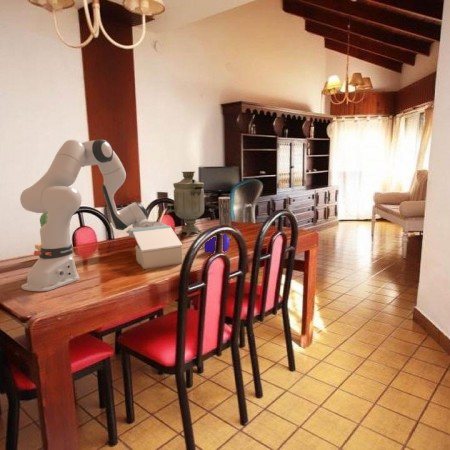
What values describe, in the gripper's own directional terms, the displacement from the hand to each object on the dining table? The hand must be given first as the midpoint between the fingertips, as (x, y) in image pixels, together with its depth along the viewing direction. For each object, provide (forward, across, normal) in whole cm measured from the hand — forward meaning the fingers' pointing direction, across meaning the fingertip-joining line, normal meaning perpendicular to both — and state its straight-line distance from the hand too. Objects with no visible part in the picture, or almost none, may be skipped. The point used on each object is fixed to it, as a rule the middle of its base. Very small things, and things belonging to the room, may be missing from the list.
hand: (152, 233), depth 178 cm
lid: (+7, 0, +1) cm, 7 cm away
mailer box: (+8, 0, +13) cm, 15 cm away
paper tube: (-19, +49, +12) cm, 54 cm away
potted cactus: (-28, -45, +13) cm, 55 cm away
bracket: (+1, +37, +13) cm, 39 cm away
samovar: (-49, +35, +13) cm, 61 cm away
